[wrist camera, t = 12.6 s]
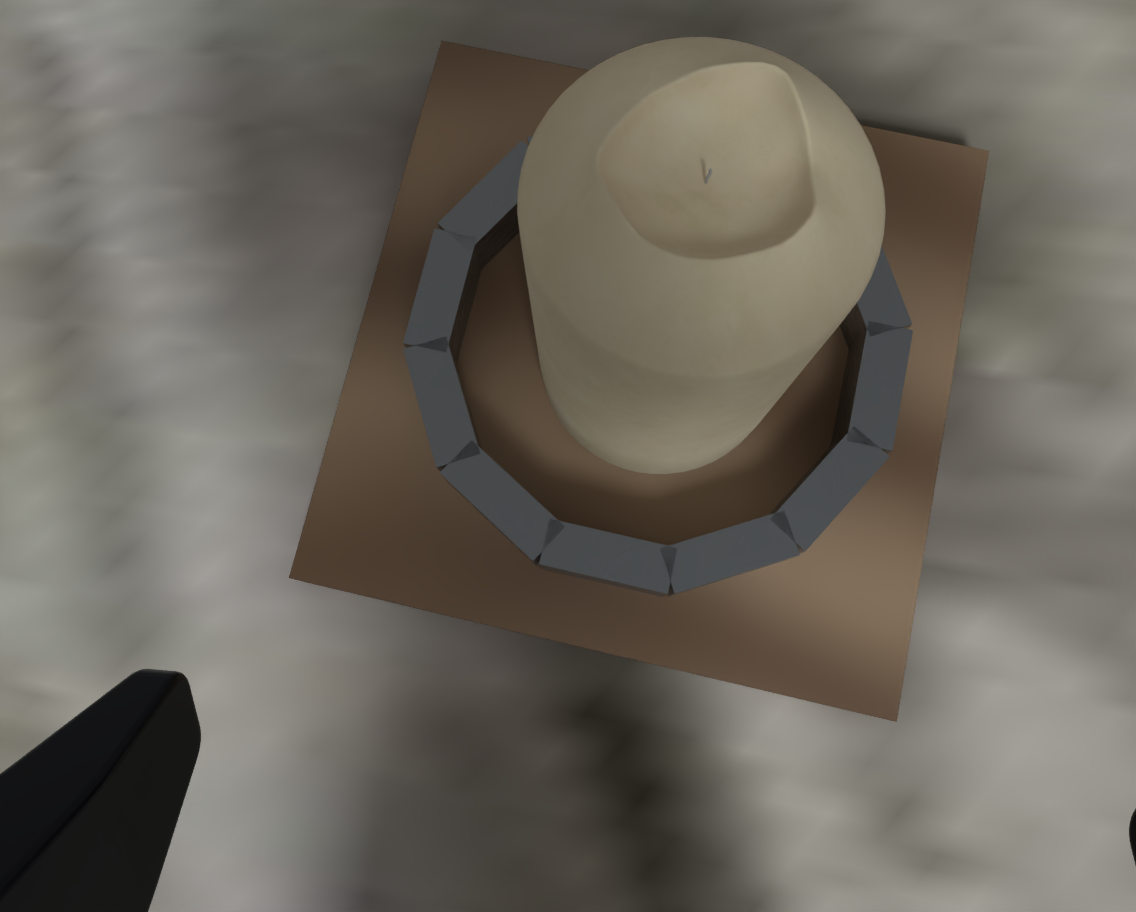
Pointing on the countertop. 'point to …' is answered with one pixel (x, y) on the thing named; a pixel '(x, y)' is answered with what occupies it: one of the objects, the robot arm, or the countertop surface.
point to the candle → (691, 244)
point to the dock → (622, 497)
